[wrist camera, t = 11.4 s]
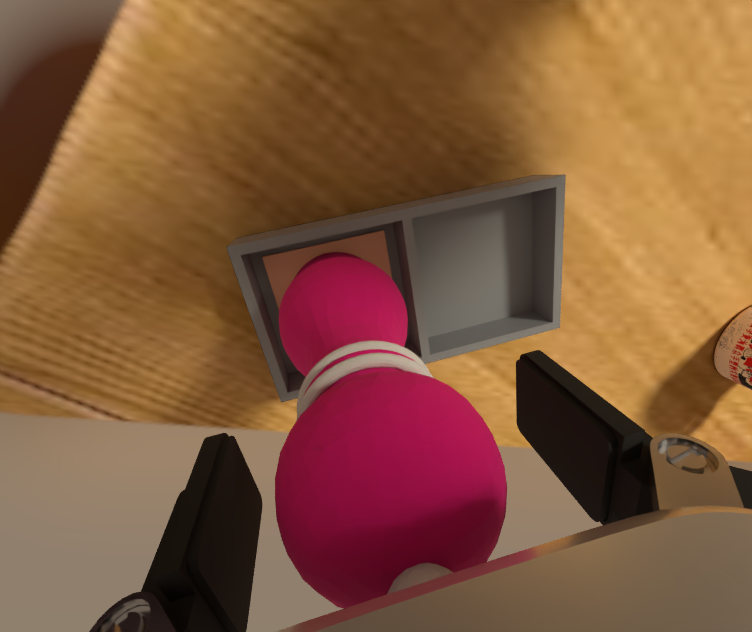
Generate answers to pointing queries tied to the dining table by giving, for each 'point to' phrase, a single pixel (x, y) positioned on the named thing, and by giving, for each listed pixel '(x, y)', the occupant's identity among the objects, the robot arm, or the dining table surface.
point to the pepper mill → (376, 445)
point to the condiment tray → (427, 267)
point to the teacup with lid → (736, 350)
